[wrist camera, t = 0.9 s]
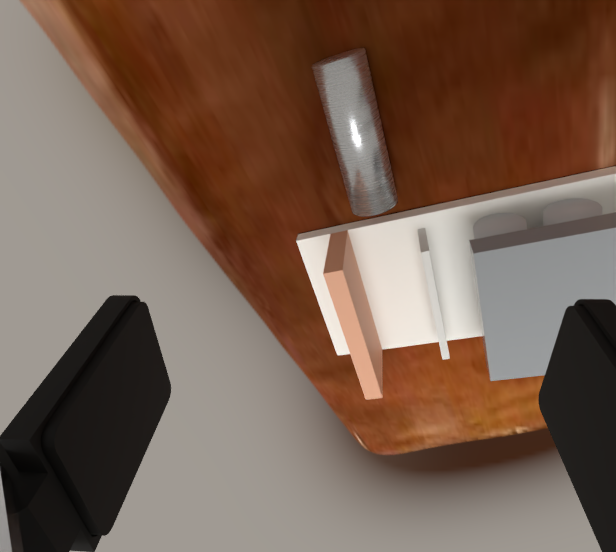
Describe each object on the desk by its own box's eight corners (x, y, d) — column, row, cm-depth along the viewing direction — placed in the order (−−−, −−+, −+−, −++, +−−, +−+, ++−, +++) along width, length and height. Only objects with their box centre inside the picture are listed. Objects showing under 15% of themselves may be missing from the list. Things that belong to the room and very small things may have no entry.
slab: (670, 201, 24) (686, 214, 22) (654, 344, 29) (666, 361, 27) (469, 240, 26) (473, 253, 25) (486, 364, 31) (490, 381, 30)
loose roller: (357, 46, 26) (371, 49, 23) (389, 189, 31) (404, 205, 28) (308, 64, 26) (316, 69, 24) (347, 204, 31) (358, 221, 28)
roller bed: (775, 131, 25) (872, 171, 20) (740, 290, 31) (809, 352, 26) (298, 234, 33) (283, 281, 28) (338, 347, 38) (332, 403, 33)
